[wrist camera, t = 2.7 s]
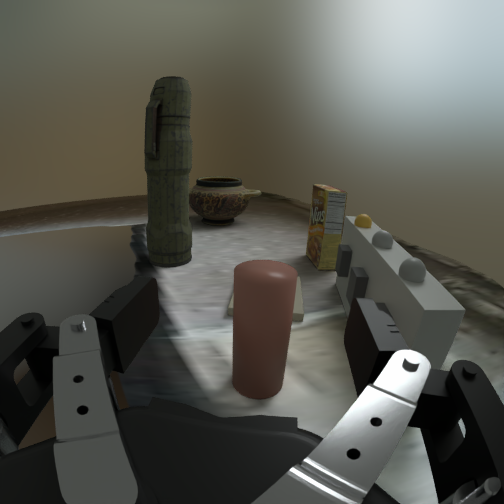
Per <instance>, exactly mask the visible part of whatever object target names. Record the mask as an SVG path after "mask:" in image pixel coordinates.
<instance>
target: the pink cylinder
mask: <svg viewBox="0 0 504 504" xmlns="http://www.w3.org/2000/svg"><path fill="white" fill-rule="evenodd" d="M297 276H298V273H297V271H296V270H295V269H294V268H293V267H291V266H290V265H287V264H285V263H282V262H278V261H272V260H252V261H246V262H243V263H241V264H239V265H237V266H236V267H235V269H234V300H233V372H232V382H233V386H234V388H235V389H236V390H237V392H239V393H240V394H241V395H243V396H245V397H248V398H252V399H265V398H269V397H272V396H274V395H276V394H277V393H278V392H279V391H280V390H281V388H282V385H283V379H284V372H285V366H286V359H287V353H288V346H289V339H290V332H291V324H292V317H293V309H294V301H295V293H296V285H297Z"/></svg>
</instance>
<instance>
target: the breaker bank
mask: <svg viewBox="0 0 504 504" xmlns="http://www.w3.org/2000/svg"><path fill="white" fill-rule="evenodd" d="M335 270H336V272H337V277H336V286H337V289H338V292H339V295H340V297H341V300H342V303H343V306H344V309H345V312H346V315H347V318H348V317H349V312H350V308H351V304H352V301H353V299H354V298H372V299H373V300H374V302H375V304H376V306H377V308H378V310H379V311H384V312H385V313H386V314H388V315H389V316H390V317H391V318H392V319H393V321H394V323H395V324H396V327H397V328H398V330H399V333H401V335H402V337H403V339H404V340H405V342H406V344H407V346H408V348H409V350H412V351H416V352H418V353H420V354H422V355H423V356H425V357H426V358H427V359H428V361H429V362H430V365H431V368H432V369H437V370H440V369H441V367H442V365H443V363H444V361H445V359H446V356H447V354H448V352H449V350H450V348H451V345H452V343H453V341H454V338H455V336H456V333H457V331H458V328H459V326H460V323H461V321H462V318H463V316H464V313H465V309H464V308H463V307H462V306H461V304H460V303H459V302H458V301H457V300H456V299H455V298H454V297H453V296H452V295H451V294H450V293H449V292H448V291H447V290H446V289H445V288H444V287H443V286H442V285H441V284H440V283H439V282H438V281H437V280H436V279H435V278H434V277H433V276H432V275H431V274H430V273H429V272H428V271H427V270H426V268H425V265H424V264H423V262H422V261H421V260H419V259H417V258H413V257H412V256H411V255H410V254H409V253H408V252H406V251H405V250H404V249H403V248H402V247H401V246H400V245H399V244H398V243H396V242H395V241H394V240H393V238H392V236H391V234H390V233H388V232H387V231H384V230H382V229H380V228H379V227H378V226H377V225H376V224H375V223H373V222H372V220H371V219H370V217H369V216H368V215H366V214H360V215H358V216H357V217H353V216H345V223H344V230H343V238H342V244H339V246H338V253H337V260H336V266H335Z"/></svg>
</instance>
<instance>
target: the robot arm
mask: <svg viewBox="0 0 504 504" xmlns="http://www.w3.org/2000/svg"><path fill="white" fill-rule="evenodd" d="M159 316H160V310H159V300H158V288H157V281H156V279H155V278H150V277H143V276H137V277H136V278H135V279H134V280H133V281H132V282H130V284H128V285H127V286H124V287H122V288H119V289H117V290H115V291H114V292H113V293H112V294H111V295H110V297H108V298H107V299H106V300H104V302H102V303H101V304H100V305H99V306H98V307H97V308H96V309H95V310H94V311H93V312H92V313H90V314H89V315H82V314H80V315H74V316H71V317H69V318H67V319H65V320H64V321H63V322H62V323H61V325H60V327H55V326H46V324H45V321H44V318H43V316H42V315H41V314H39V313H27V314H24V315H21V316H20V317H18V318H17V319H15V320H14V321H13V322H12V323H11V324H10V325H8V326H7V327H6V328H5V329H4V330H3V331H2V332H0V504H400V503H398V502H397V501H396V500H395V499H394V498H392V497H391V496H390V495H389V494H387V493H386V492H385V491H384V490H383V489H382V488H380V487H379V486H378V485H377V484H376V483H374V482H375V481H376V479H377V478H378V476H379V475H380V473H381V471H382V470H383V468H384V467H385V465H386V463H387V462H388V460H389V458H390V457H391V455H392V453H393V451H394V450H395V448H396V446H397V444H398V442H399V440H400V439H401V437H402V435H403V433H404V431H405V429H406V427H407V426H410V427H417V428H420V430H421V433H422V436H423V440H424V444H425V447H426V451H427V455H428V459H429V462H430V466H431V471H432V475H433V479H434V484H435V488H436V493H437V498H438V503H439V504H504V405H503V403H502V402H501V400H500V398H499V396H498V395H497V393H496V391H495V389H494V388H493V386H492V384H491V383H490V381H489V379H488V378H487V376H486V375H485V373H484V371H483V370H482V369H481V368H480V367H479V366H478V365H477V364H475V363H473V362H471V361H467V360H458V361H456V362H454V363H453V365H452V367H451V369H450V371H443V370H437V369H432V368H431V365H430V362H429V361H428V359H427V358H426V357H425V356H423V355H422V354H420V353H418V352H416V351H412V350H409V348H408V346H407V344H406V342H405V340H404V339H403V337H402V335H401V333H399V330H398V328H397V327H396V324H395V323H394V321H393V319H392V318H391V317H390V316H389V315H388V314H386V313H385V312H384V311H379V310H378V308H377V306H376V304H375V302H374V300H373V299H372V298H354V299H353V301H352V304H351V308H350V312H349V317H348V321H347V325H346V329H345V334H344V345H345V349H346V353H347V357H348V360H349V364H350V368H351V372H352V376H353V380H354V384H355V388H356V392H357V396H358V399H357V400H356V401H355V403H354V404H353V405H352V406H351V408H350V409H349V410H348V411H347V413H346V414H345V415H344V416H343V418H342V419H341V420H340V421H339V422H338V423H337V425H336V426H335V427H334V428H333V429H332V430H331V432H330V433H329V434H328V435H327V436H326V437H325V438H322V437H320V436H318V435H316V434H314V433H312V432H309V431H306V430H303V429H300V428H297V418H294V417H278V416H265V415H256V416H244V417H228V418H222V417H217V416H215V415H212V414H209V413H207V412H204V411H201V410H199V409H196V408H194V407H191V406H189V405H187V404H182V403H177V402H173V401H168V400H164V399H159V398H155V397H153V398H152V400H151V402H150V404H149V406H137V407H129V408H125V409H121V410H120V409H119V405H118V402H117V398H116V395H115V391H114V387H113V384H112V380H111V377H110V373H111V372H112V371H116V372H120V373H123V374H124V373H125V371H126V370H127V368H128V367H129V365H130V364H131V363H132V361H133V360H134V358H135V357H136V355H137V354H138V352H139V351H140V349H141V348H142V346H143V345H144V343H145V342H146V340H147V339H148V337H149V336H150V335H151V333H152V332H153V330H154V329H155V327H156V326H157V324H158V321H159ZM24 358H25V359H26V361H27V364H28V366H29V368H30V370H29V371H28V373H27V374H26V375H25V376H24V377H23V378H22V379H21V381H20V382H19V383H18V384H17V385H16V383H15V381H14V376H13V375H14V370H15V368H16V367H17V366H18V365H19V364H20V363H21V362H22V361H23V359H24ZM53 395H54V412H55V425H56V434H57V436H55V437H53V438H50V439H47V440H45V441H42V442H40V443H37V444H34V445H31V446H28V447H26V448H22V449H20V450H18V446H19V444H20V443H21V441H22V440H23V438H24V437H25V435H26V434H27V432H28V430H29V429H30V427H31V426H32V424H33V423H34V422H35V420H36V418H37V417H38V416H39V414H40V413H41V411H42V410H43V408H44V407H45V406H46V404H47V403H48V401H49V400H50V398H51V397H52V396H53ZM461 418H462V420H463V423H464V425H465V429H466V433H465V438H464V437H463V434H462V432H461V429H460V426H459V424H458V421H459V420H460V419H461Z"/></svg>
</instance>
